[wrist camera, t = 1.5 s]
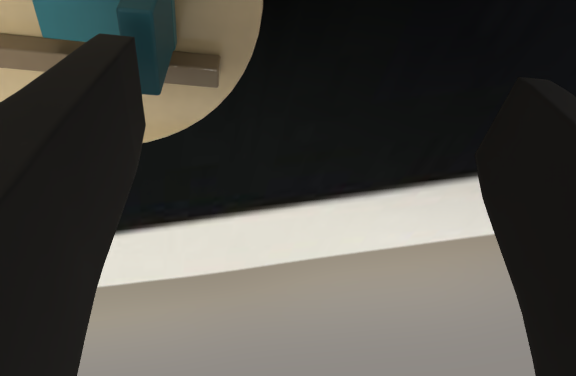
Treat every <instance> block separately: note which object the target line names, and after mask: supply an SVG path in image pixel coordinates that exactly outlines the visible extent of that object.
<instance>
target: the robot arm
mask: <svg viewBox="0 0 576 376" xmlns="http://www.w3.org/2000/svg"><path fill="white" fill-rule="evenodd" d="M145 127H146V123H145V115H144V107H143V100H142V92H141V84H140V76H139V69H138V61H137V53H136V45H135V38H134V37H130V36H120V35H111V34H101V33H99V34H98V35H96V36H94V37H93V38H91V39H90V40H88V41H87V42H85V43H84V44H83V45H81V46H80V47H79V48H77V49H76V50H74V51H73V52H72V53H70V54H69V55H68V56H66V57H65V58H64V59H62V60H61V61H59V62H58V63H57V64H55V65H54V66H53V67H51V68H50V69H48V70H47V71H46V72H44V73H43V74H41V75H40V76H39V77H37V78H36V79H34V80H33V81H32V82H30V83H29V84H27V85H26V86H24V87H23V88H22V89H20V90H19V91H17V92H16V93H14V94H13V95H11V96H9V97H8V98H6V99H5V100H3V101H2V102H0V376H77V373H78V368H79V364H80V359H81V354H82V349H83V345H84V340H85V335H86V331H87V326H88V323H89V318H90V314H91V310H92V305H93V301H94V297H95V293H96V289H97V285H98V282H99V279H100V275H101V272H102V269H103V266H104V263H105V260H106V257H107V254H108V252H109V249H110V246H111V243H112V240H113V237H114V235H115V232H116V229H117V226H118V223H119V220H120V218H121V215H122V212H123V209H124V206H125V203H126V201H127V198H128V195H129V192H130V189H131V186H132V183H133V180H134V177H135V174H136V171H137V167H138V163H139V158H140V153H141V148H142V143H143V138H144V133H145ZM475 158H476V165H477V171H478V178H479V183H480V188H481V192H482V197H483V200H484V204H485V207H486V210H487V213H488V216H489V218H490V221H491V224H492V227H493V230H494V233H495V236H496V238H497V241H498V244H499V247H500V250H501V253H502V256H503V258H504V261H505V264H506V267H507V270H508V272H509V275H510V278H511V281H512V284H513V286H514V289H515V292H516V295H517V299H518V302H519V305H520V309H521V312H522V315H523V320H524V324H525V328H526V333H527V337H528V342H529V346H530V350H531V355H532V359H533V364H534V369H535V374H536V376H576V97H575V96H574V95H572V94H571V93H569V92H568V91H566V90H565V89H563V88H562V87H560V86H558V85H557V84H555V83H553V82H551V81H549V80H543V79H533V78H524V77H518V79H517V80H516V82H515V84H514V86H513V87H512V89H511V91H510V93H509V95H508V96H507V98H506V100H505V102H504V103H503V105H502V107H501V109H500V111H499V112H498V114H497V116H496V118H495V119H494V121H493V123H492V125H491V127H490V128H489V130H488V132H487V134H486V136H485V137H484V139H483V141H482V143H481V144H480V146H479V148H478V150H477V152H476V153H475Z"/></svg>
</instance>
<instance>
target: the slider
mask: <svg viewBox="0 0 576 376" xmlns="http://www.w3.org/2000/svg"><path fill="white" fill-rule="evenodd" d="M32 2H33V5H34V9H35V12H36V16H37V19H38V23H39V26H40V30H41V33H42V36H43V38H51V39H61V40H71V41H81V42H87V41H88V40H90V39H91V38H93V37H94V36H96V35H98V34H99V33H101V34H111V35H120V36H130V37H134V38H135V45H136V53H137V61H138V69H139V76H140V84H141V92H142V94H145V95H156V96H158V95H160V94H161V91H162V87H163V84H164V80H165V77H166V74H167V70H168V67H169V63H170V60H171V56H172V53H173V51H174V50H175V48H176V45H177V32H176V16H175V0H32Z"/></svg>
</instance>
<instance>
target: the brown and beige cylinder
mask: <svg viewBox="0 0 576 376" xmlns="http://www.w3.org/2000/svg"><path fill="white" fill-rule="evenodd" d="M263 1H264V0H175V16H176V32H177V45H176V48H175V50H174V51H173V53H172V56H171V60H170V63H169V67H168V70H167V74H166V77H165V80H164V84H163V87H162V91H161V94H160V95H158V96H156V95H145V94H142V100H143V107H144V115H145V123H146V127H145V133H144V138H143V143H145V142H150V141H153V140H157V139H160V138H164V137H167V136H170V135H172V134H174V133H177V132H179V131H181V130H184V129H186V128H187V127H189V126H191V125H193V124H194V123H196V122H198V121H199V120H201V119H202V118H204V117H205V116H206V115H207V114H209V113H210V112H211V111H212V110H214V109H215V108H216V107H217V106H218V105H219V104H220V103H221V102H222V101H223V100H224V99H225V98H226V97H227V96H228V95H229V94H230V92H231V91H232V90H233V88H234V87H235V85H236V84H237V83H238V81H239V80H240V78H241V77H242V75H243V73H244V71H245V69H246V67H247V65H248V63H249V61H250V59H251V57H252V55H253V51H254V48H255V45H256V41H257V38H258V35H259V31H260V24H261V18H262V11H263ZM84 43H85V42H81V41H71V40H61V39H51V38H43V36H42V33H41V30H40V26H39V23H38V19H37V16H36V12H35V9H34V5H33V2H32V0H0V102H2V101H3V100H5V99H6V98H8V97H9V96H11V95H13V94H14V93H16V92H17V91H19V90H20V89H22V88H23V87H24V86H26V85H27V84H29V83H30V82H32V81H33V80H34V79H36V78H37V77H39V76H40V75H41V74H43V73H44V72H46V71H47V70H48V69H50V68H51V67H53V66H54V65H55V64H57V63H58V62H59V61H61V60H62V59H64V58H65V57H66V56H68V55H69V54H70V53H72V52H73V51H74V50H76V49H77V48H79V47H80V46H81V45H83V44H84Z"/></svg>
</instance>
